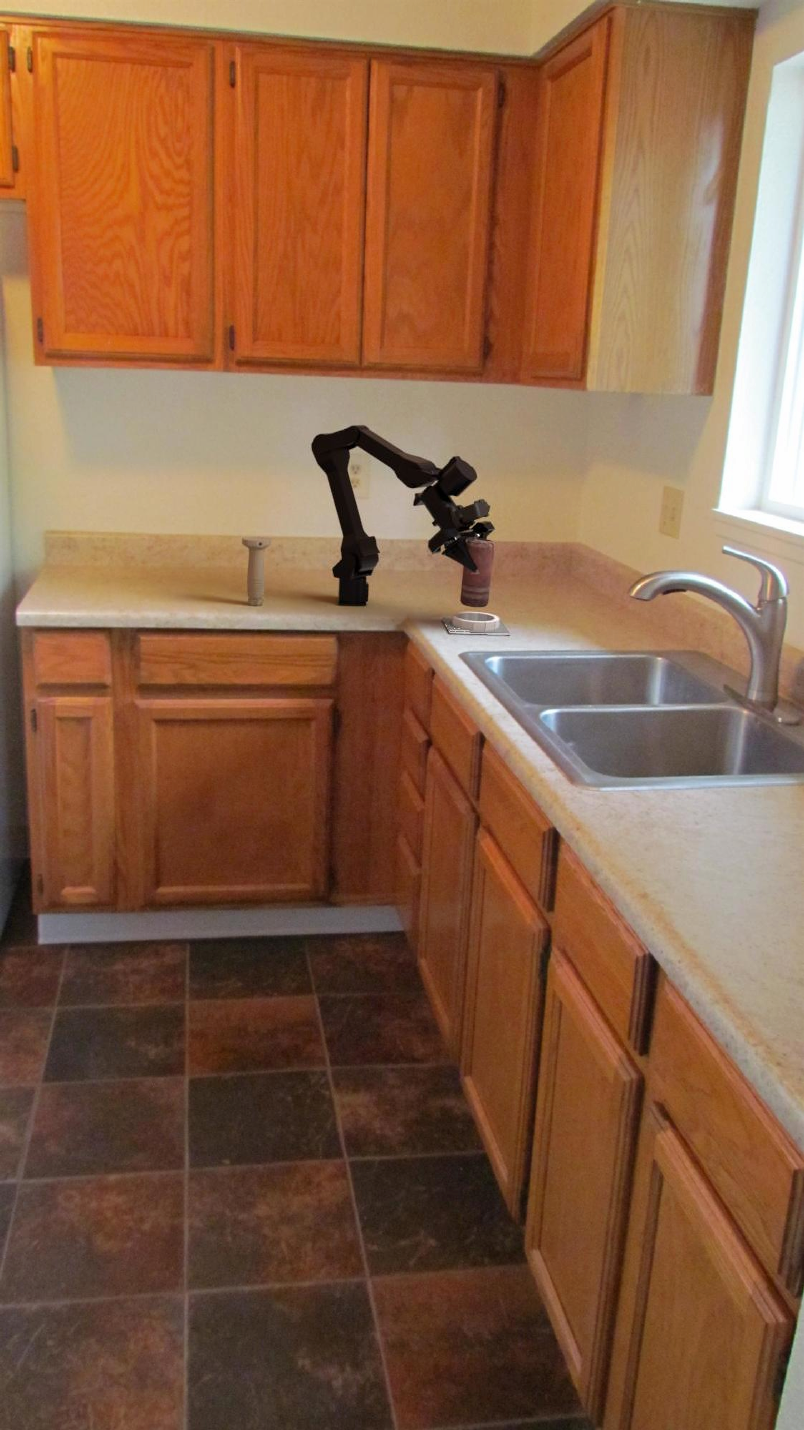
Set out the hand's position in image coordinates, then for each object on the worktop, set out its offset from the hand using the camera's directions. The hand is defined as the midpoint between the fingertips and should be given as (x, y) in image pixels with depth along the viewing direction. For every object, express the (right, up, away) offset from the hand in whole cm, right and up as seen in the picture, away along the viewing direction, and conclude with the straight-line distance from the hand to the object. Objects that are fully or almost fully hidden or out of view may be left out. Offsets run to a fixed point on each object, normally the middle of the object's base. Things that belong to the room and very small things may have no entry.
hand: (483, 568), depth 258 cm
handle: (-50, -6, +16) cm, 53 cm away
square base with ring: (-1, -12, +5) cm, 13 cm away
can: (-2, -7, +3) cm, 8 cm away
